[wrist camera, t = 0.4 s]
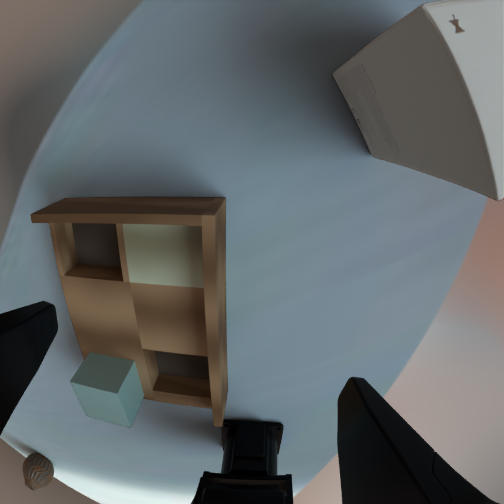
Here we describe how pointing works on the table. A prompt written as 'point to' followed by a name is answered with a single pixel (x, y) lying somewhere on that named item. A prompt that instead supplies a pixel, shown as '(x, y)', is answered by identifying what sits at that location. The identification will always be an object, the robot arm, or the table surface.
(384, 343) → the table surface
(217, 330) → the box
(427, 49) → the small box
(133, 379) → the block
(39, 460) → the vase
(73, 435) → the table surface
